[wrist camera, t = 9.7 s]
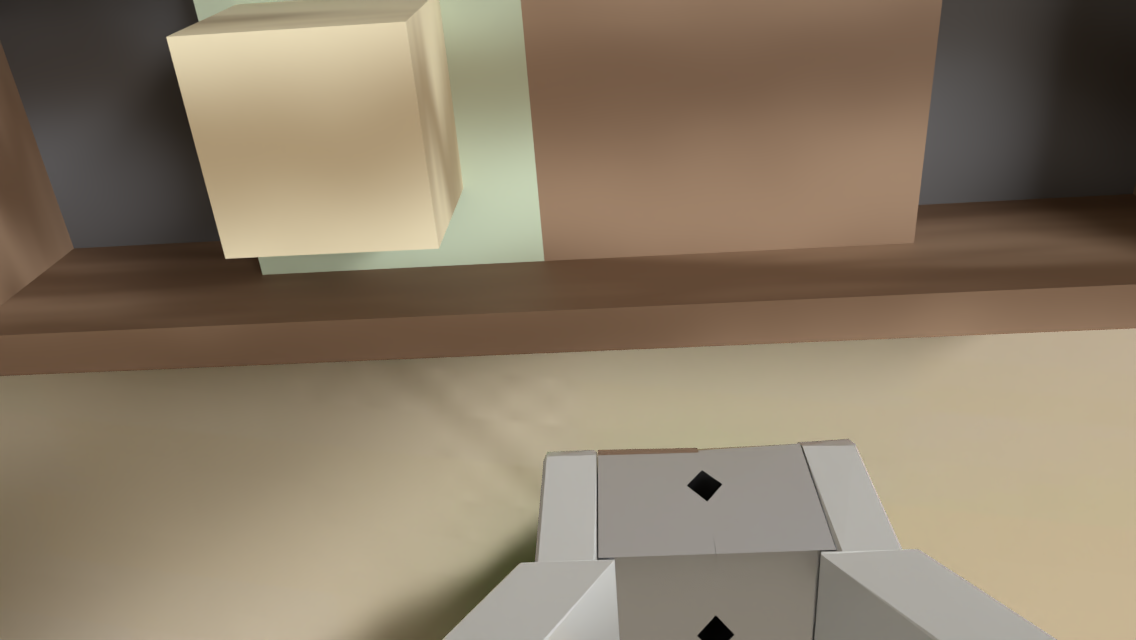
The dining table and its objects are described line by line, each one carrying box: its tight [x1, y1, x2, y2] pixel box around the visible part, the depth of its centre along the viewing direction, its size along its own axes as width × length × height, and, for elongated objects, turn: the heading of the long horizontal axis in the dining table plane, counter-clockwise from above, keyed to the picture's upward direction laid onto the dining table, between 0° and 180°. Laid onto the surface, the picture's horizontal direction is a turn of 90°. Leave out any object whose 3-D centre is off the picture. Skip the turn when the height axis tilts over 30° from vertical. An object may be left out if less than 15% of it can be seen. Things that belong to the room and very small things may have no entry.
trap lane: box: [0, 0, 1136, 376], centre depth 23 cm, size 11×34×6 cm, turn 94°
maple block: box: [166, 0, 463, 259], centre depth 21 cm, size 5×5×4 cm
